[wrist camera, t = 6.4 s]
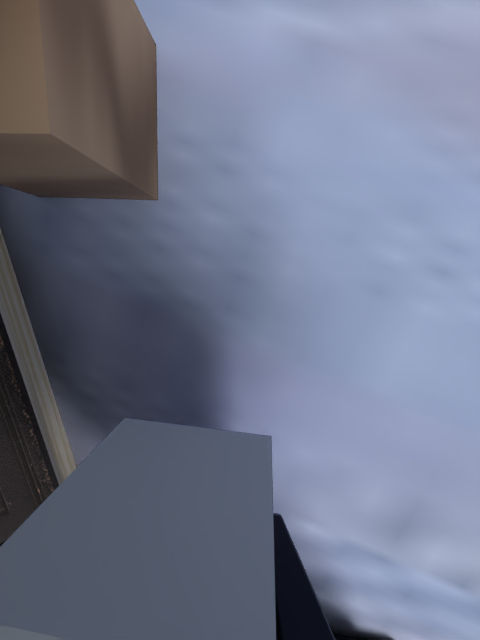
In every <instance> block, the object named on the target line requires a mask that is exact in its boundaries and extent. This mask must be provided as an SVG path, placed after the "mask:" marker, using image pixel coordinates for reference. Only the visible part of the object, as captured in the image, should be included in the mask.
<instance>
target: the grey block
mask: <svg viewBox="0 0 480 640" xmlns="http://www.w3.org/2000/svg"><path fill="white" fill-rule="evenodd" d="M0 640H276V611H275V568H274V525H273V481H272V438H271V436H266V435H258V434H250V433H242V432H234V431H226V430H218V429H210V428H203V427H195V426H187V425H179V424H171V423H163V422H155V421H147V420H139V419H131V418H124V419H123V420H122V421H121V422H120V423H119V424H118V425H117V426H116V427H115V428H114V429H113V430H112V432H111V433H110V434H109V435H108V436H107V437H106V438H105V439H104V440H103V441H102V442H101V443H100V444H99V445H98V446H97V447H96V448H95V449H94V450H93V451H92V452H91V453H90V454H89V455H88V456H87V457H86V458H85V459H84V461H83V462H82V463H81V464H80V465H79V466H78V467H77V468H76V469H75V470H74V471H73V472H72V473H71V474H70V475H69V476H68V477H67V478H66V479H65V480H64V481H63V482H62V483H61V484H60V485H59V486H58V487H57V489H56V490H55V491H54V492H53V493H52V494H51V495H50V496H49V497H48V498H47V499H46V500H45V501H44V502H43V503H42V504H41V505H40V506H39V507H38V508H37V509H36V510H35V511H34V512H33V513H32V514H31V515H30V517H29V518H28V519H27V520H26V521H25V522H24V523H23V524H22V525H21V526H20V527H19V528H18V529H17V530H16V531H15V532H14V533H13V534H12V535H11V536H10V537H9V538H8V539H7V540H6V541H5V542H4V543H3V545H2V546H1V547H0Z"/></svg>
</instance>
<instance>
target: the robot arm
mask: <svg viewBox="0 0 480 640" xmlns="http://www.w3.org/2000/svg"><path fill="white" fill-rule="evenodd" d="M273 525H274V568H275V611H276V640H357V639H352V638H347V637H342V636H337V635H333V633H332V631H331V629H330V626H329V624H328V622H327V619H326V617H325V615H324V612H323V610H322V608H321V606H320V603H319V601H318V599H317V596H316V594H315V592H314V589H313V587H312V585H311V583H310V580H309V578H308V576H307V573H306V571H305V569H304V566H303V564H302V562H301V560H300V557H299V555H298V553H297V550H296V548H295V546H294V543H293V541H292V539H291V537H290V534H289V532H288V530H287V527H286V525H285V523H284V520H283V518H282V516H281V515H280V514H277V513H273ZM6 540H7V539H6ZM6 540H5V541H6ZM5 541H3V542H2V543H0V547H1V546H2V545H3V543H4V542H5Z"/></svg>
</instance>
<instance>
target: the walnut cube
mask: <svg viewBox="0 0 480 640" xmlns="http://www.w3.org/2000/svg"><path fill="white" fill-rule="evenodd" d="M0 184H1V185H4V186H7V187H10V188H13V189H16V190H20V191H23V192H26V193H29V194H32V195H36V196H39V197H65V198H98V199H131V200H158V157H157V75H156V44H155V42H154V40H153V38H152V36H151V34H150V32H149V30H148V28H147V26H146V24H145V22H144V20H143V18H142V16H141V14H140V12H139V10H138V8H137V6H136V4H135V2H134V0H0Z"/></svg>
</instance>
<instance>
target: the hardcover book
mask: <svg viewBox="0 0 480 640" xmlns="http://www.w3.org/2000/svg"><path fill="white" fill-rule="evenodd" d="M76 468H77V466H76V463H75V460H74V456H73V453H72V450H71V447H70V444H69V441H68V438H67V435H66V431H65V428H64V425H63V422H62V419H61V416H60V413H59V410H58V406H57V403H56V400H55V397H54V394H53V391H52V388H51V385H50V381H49V378H48V375H47V372H46V369H45V366H44V363H43V360H42V356H41V353H40V350H39V347H38V344H37V341H36V338H35V335H34V331H33V328H32V325H31V322H30V319H29V316H28V313H27V310H26V306H25V303H24V300H23V297H22V294H21V291H20V288H19V285H18V281H17V278H16V275H15V272H14V269H13V266H12V263H11V260H10V256H9V253H8V250H7V247H6V244H5V241H4V238H3V235H2V231H1V228H0V543H2V542H3V541H5V540H6V539H8V538H9V537H10V536H11V535H12V534H13V533H14V532H15V531H16V530H17V529H18V528H19V527H20V526H21V525H22V524H23V523H24V522H25V521H26V520H27V519H28V518H29V517H30V515H31V514H32V513H33V512H34V511H35V510H36V509H37V508H38V507H39V506H40V505H41V504H42V503H43V502H44V501H45V500H46V499H47V498H48V497H49V496H50V495H51V494H52V493H53V492H54V491H55V490H56V489H57V487H58V486H59V485H60V484H61V483H62V482H63V481H64V480H65V479H66V478H67V477H68V476H69V475H70V474H71V473H72V472H73V471H74V470H75V469H76Z"/></svg>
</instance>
